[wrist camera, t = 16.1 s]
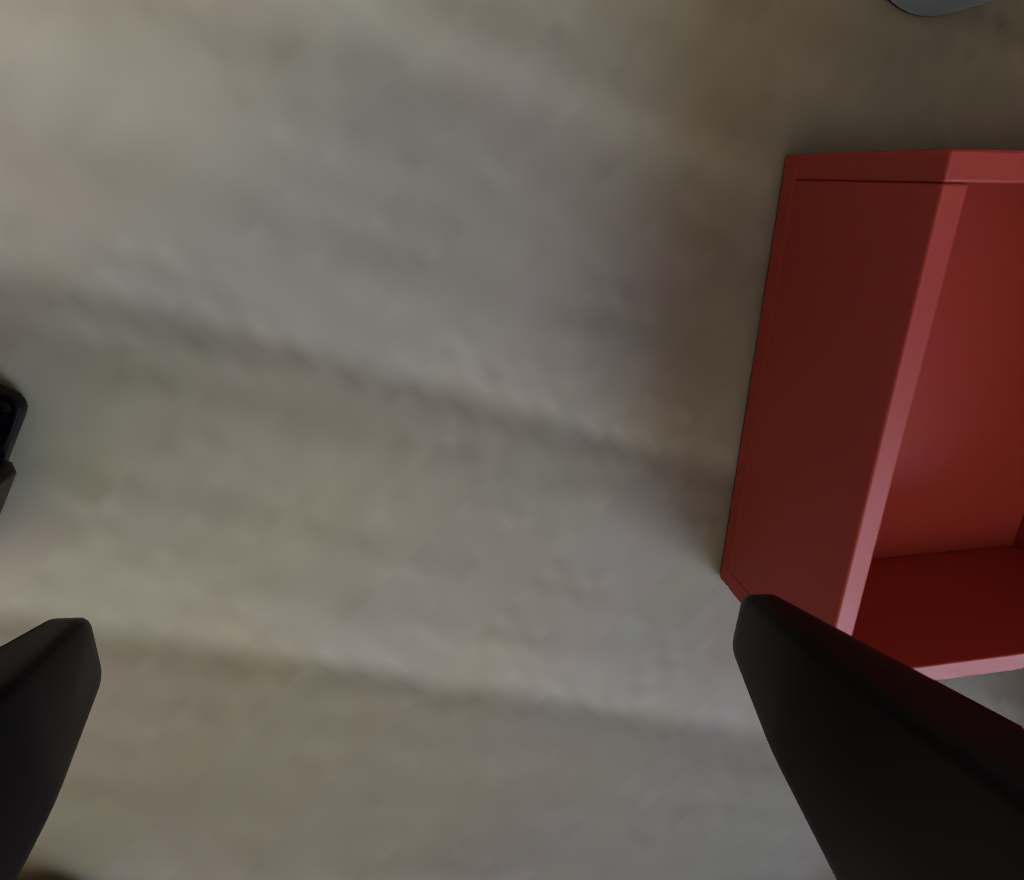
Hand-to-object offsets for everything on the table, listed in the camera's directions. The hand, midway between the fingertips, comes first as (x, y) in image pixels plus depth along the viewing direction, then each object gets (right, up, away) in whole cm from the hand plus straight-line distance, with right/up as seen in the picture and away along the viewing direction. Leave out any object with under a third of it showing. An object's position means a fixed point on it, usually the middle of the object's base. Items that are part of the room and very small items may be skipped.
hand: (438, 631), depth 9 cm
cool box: (+16, +5, +15) cm, 22 cm away
